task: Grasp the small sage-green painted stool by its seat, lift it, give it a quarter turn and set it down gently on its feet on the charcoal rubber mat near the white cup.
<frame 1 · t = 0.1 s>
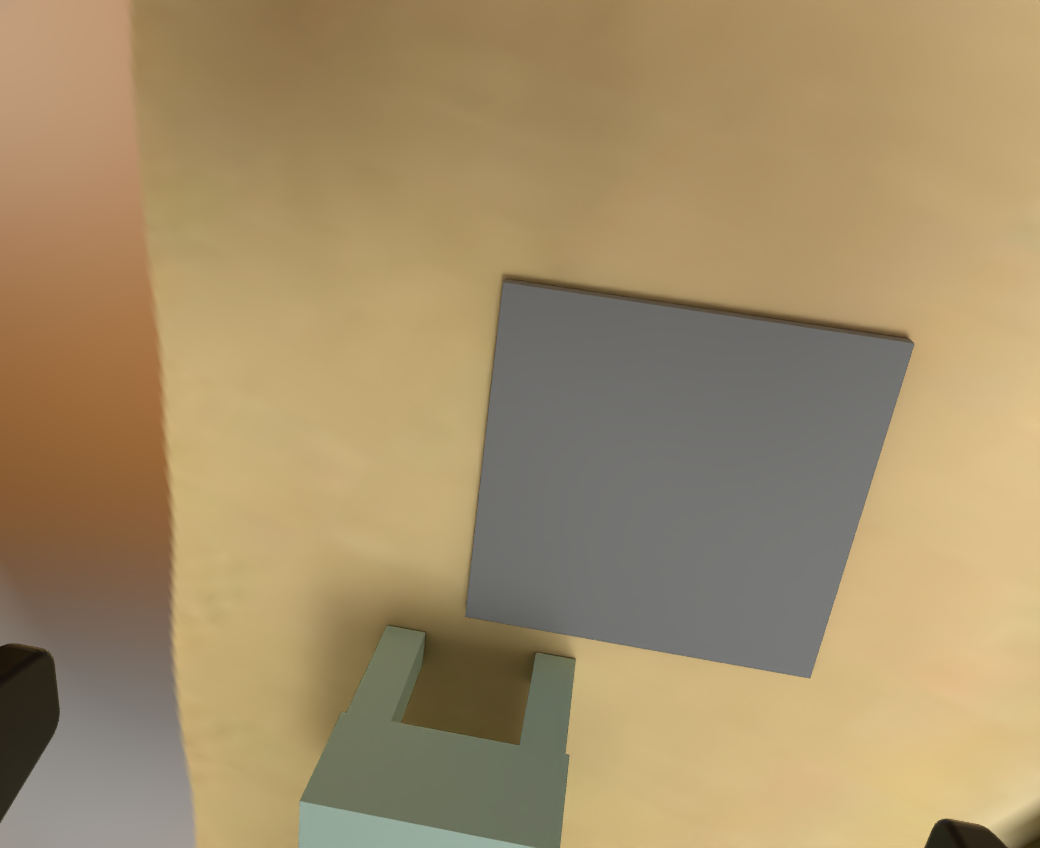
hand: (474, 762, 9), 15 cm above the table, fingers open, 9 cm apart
stool: (471, 717, 27), on the table
mat: (666, 487, 23), on the table
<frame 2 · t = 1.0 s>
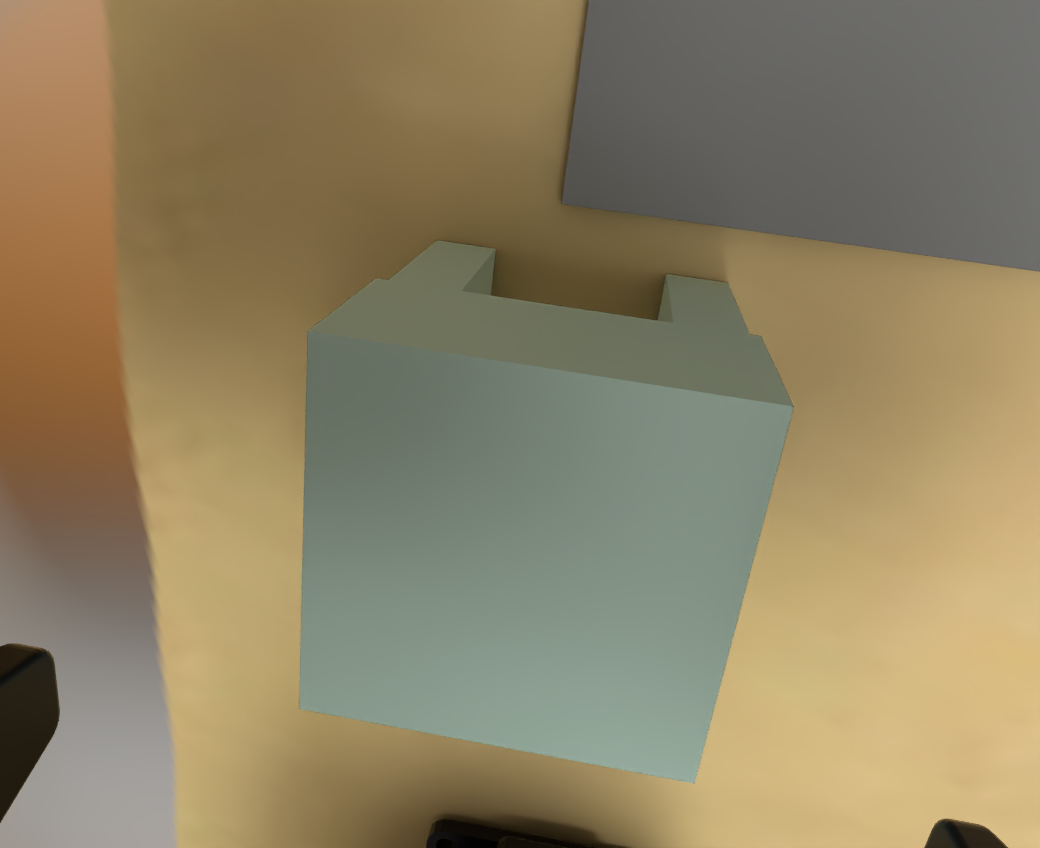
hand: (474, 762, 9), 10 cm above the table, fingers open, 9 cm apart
stool: (560, 397, 18), on the table
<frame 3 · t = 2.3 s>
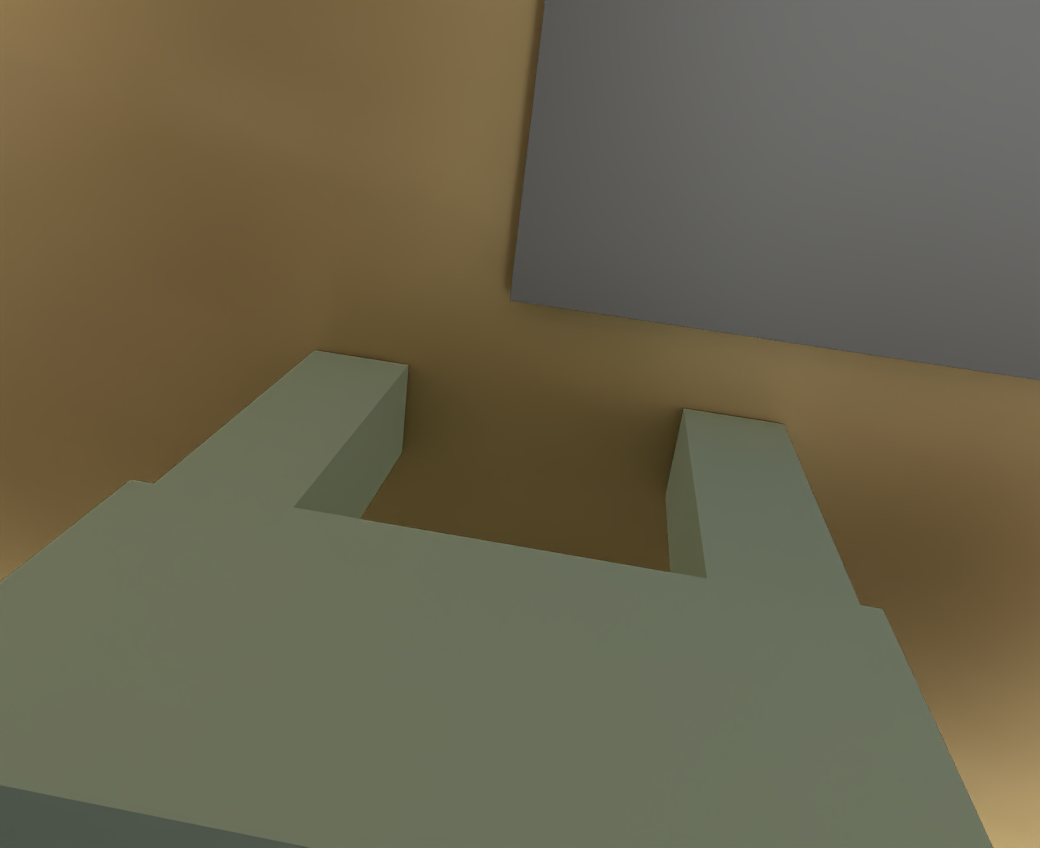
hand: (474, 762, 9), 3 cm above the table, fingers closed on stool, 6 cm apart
stool: (516, 586, 12), on the table, touching gripper
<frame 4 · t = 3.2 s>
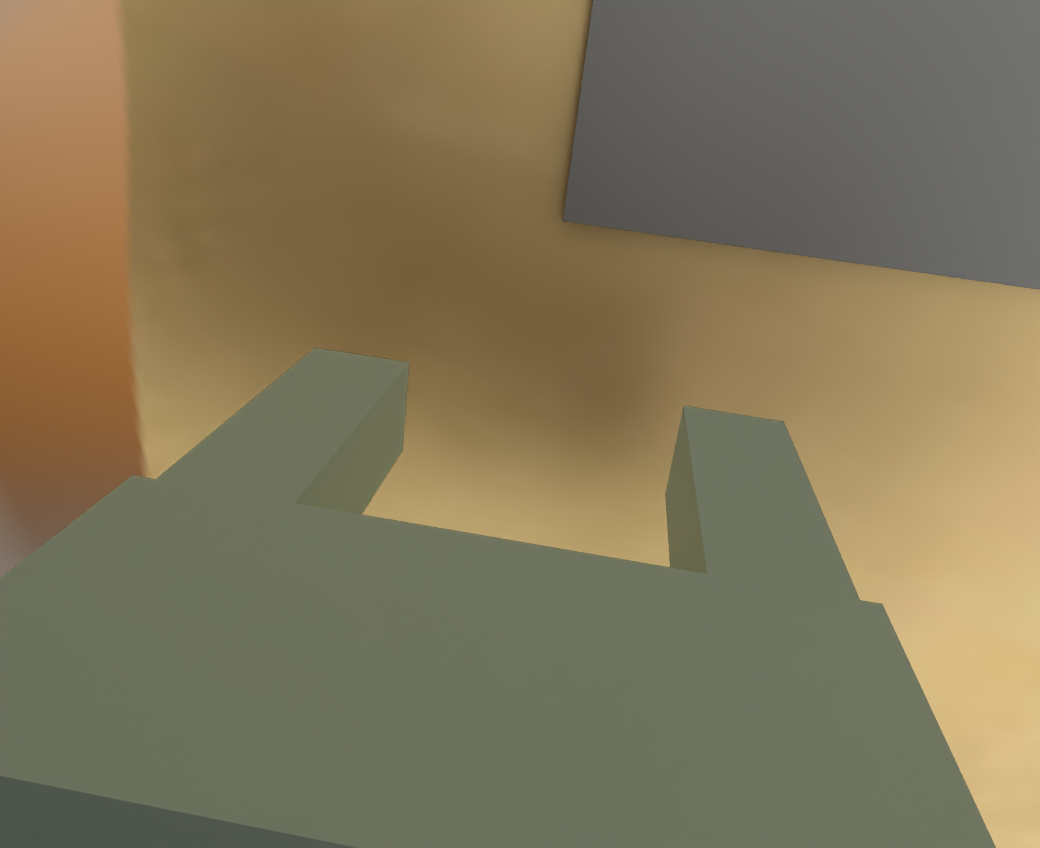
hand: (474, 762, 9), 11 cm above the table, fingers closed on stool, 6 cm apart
stool: (516, 584, 12), point 7 cm above the table, touching gripper
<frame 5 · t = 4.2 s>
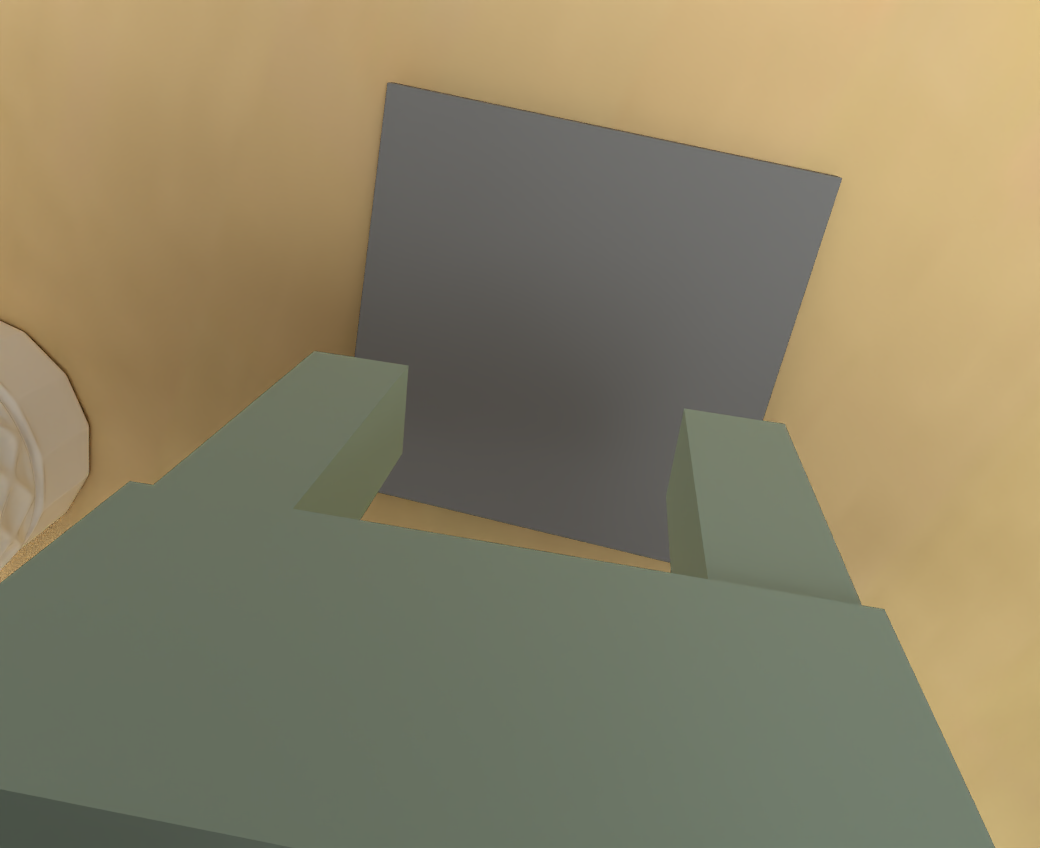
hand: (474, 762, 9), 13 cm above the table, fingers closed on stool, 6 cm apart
stool: (517, 587, 12), point 10 cm above the table, touching gripper
mat: (564, 342, 21), on the table
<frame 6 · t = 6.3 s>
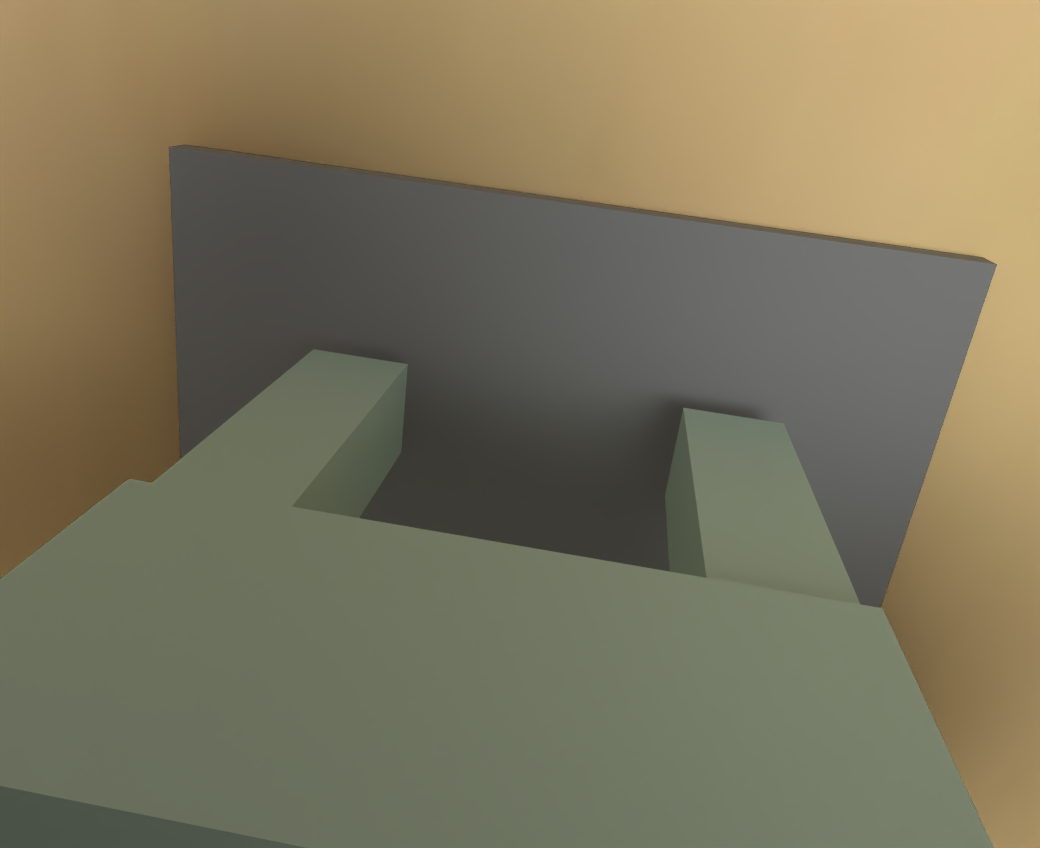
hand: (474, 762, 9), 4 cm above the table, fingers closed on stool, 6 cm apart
stool: (515, 586, 12), point 1 cm above the table, touching gripper
mat: (522, 546, 13), on the table
when the fingers open (4 cm above the table, at t = 6.4 s): stool stays where it is, resting on mat.
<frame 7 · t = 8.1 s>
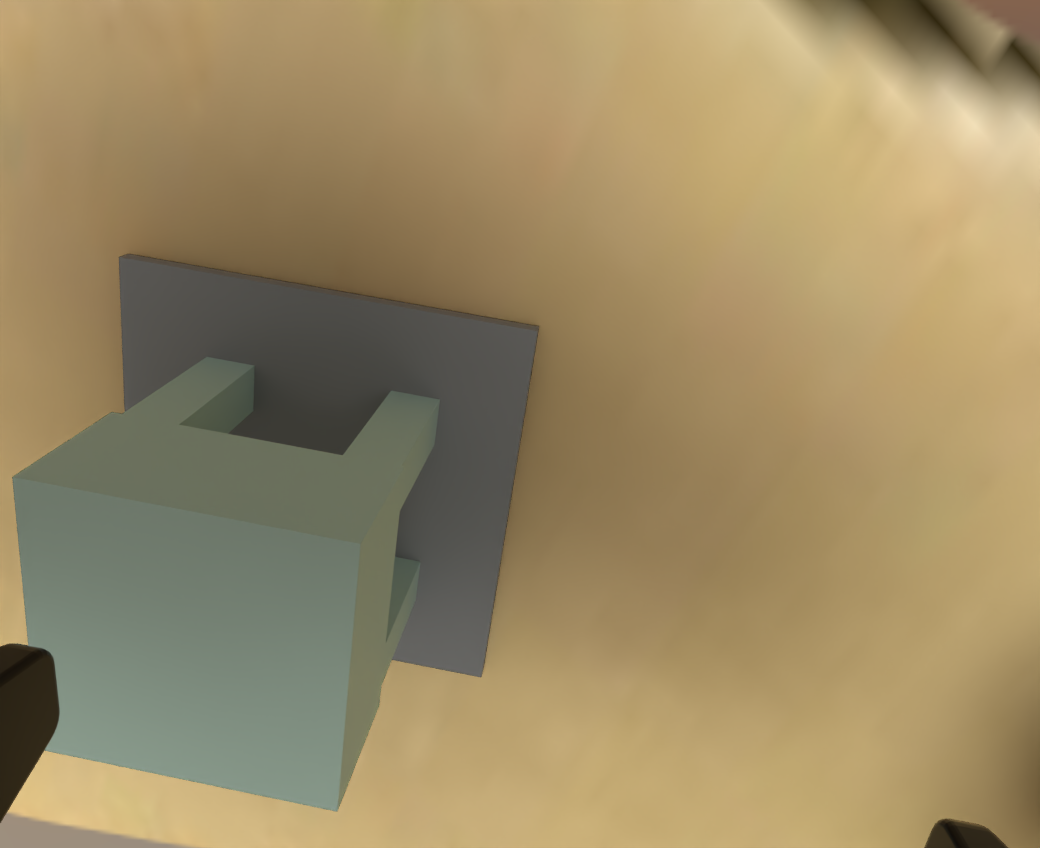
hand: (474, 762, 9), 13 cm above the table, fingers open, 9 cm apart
stool: (316, 483, 22), resting on mat
mat: (319, 476, 22), on the table
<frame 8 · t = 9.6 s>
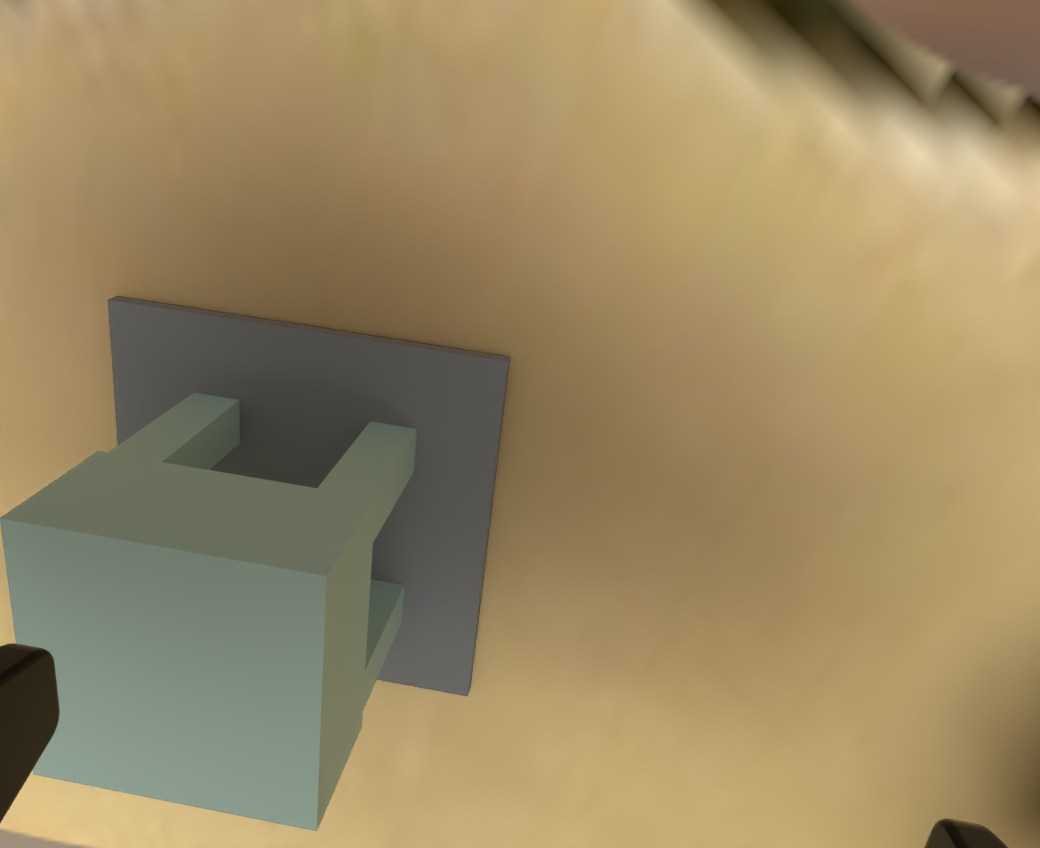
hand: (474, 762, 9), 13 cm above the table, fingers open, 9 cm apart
stool: (302, 511, 23), resting on mat
mat: (305, 504, 23), on the table
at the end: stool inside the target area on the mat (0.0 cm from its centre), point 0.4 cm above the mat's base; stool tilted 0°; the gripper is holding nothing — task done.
